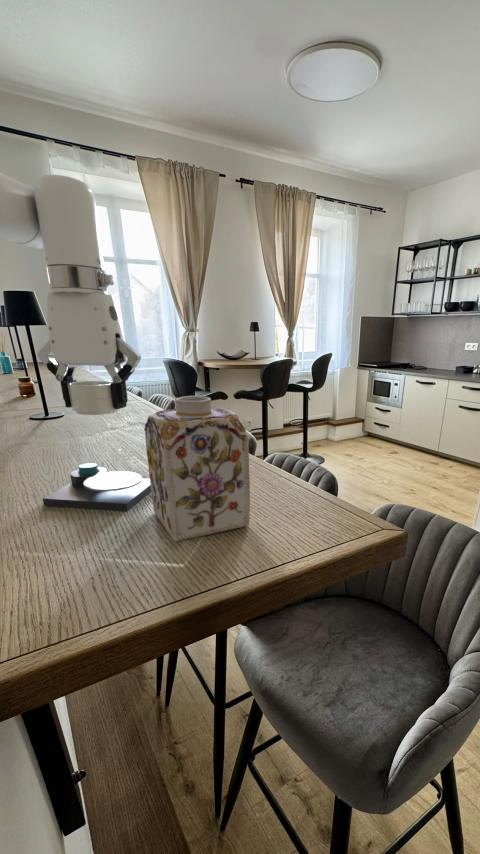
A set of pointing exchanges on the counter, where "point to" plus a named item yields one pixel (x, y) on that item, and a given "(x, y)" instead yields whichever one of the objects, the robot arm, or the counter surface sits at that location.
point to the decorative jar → (198, 468)
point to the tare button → (88, 469)
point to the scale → (96, 495)
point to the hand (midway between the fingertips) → (96, 406)
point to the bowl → (91, 397)
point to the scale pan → (112, 481)
